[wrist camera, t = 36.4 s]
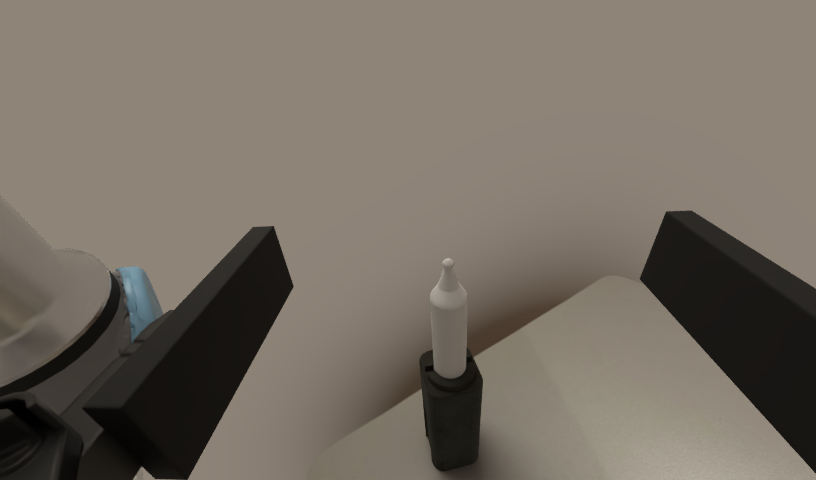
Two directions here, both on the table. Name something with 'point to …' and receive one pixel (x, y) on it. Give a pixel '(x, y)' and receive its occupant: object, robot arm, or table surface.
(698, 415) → the table surface
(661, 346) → the table surface
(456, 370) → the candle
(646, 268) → the robot arm
